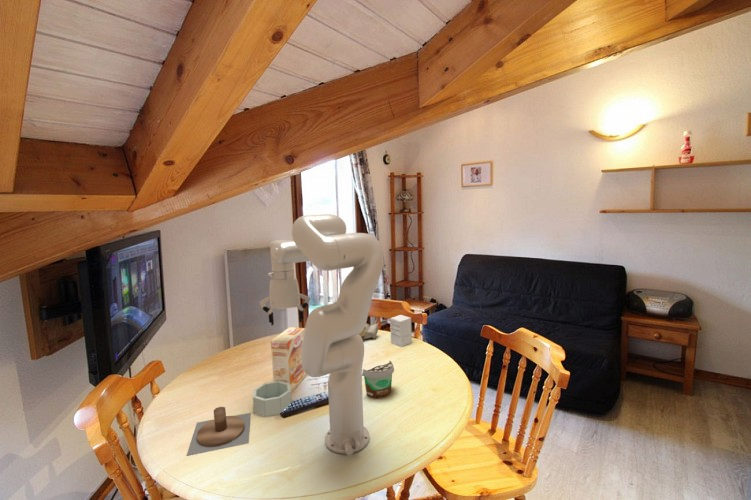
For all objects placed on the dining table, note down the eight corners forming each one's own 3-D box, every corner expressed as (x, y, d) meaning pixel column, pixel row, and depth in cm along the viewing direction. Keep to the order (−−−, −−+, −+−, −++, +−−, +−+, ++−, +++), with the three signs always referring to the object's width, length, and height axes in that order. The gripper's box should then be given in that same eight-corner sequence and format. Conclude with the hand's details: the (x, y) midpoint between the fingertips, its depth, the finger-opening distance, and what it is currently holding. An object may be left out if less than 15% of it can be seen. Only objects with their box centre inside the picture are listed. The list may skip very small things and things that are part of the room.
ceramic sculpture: (380, 323, 176) (349, 328, 173) (381, 340, 177) (351, 345, 174) (375, 317, 187) (346, 321, 184) (377, 333, 188) (348, 338, 185)
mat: (248, 445, 102) (248, 443, 102) (186, 457, 98) (186, 455, 98) (251, 414, 118) (250, 412, 118) (197, 424, 113) (196, 422, 113)
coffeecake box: (291, 394, 130) (287, 341, 127) (273, 392, 131) (269, 340, 129) (308, 374, 144) (305, 327, 142) (291, 373, 146) (288, 326, 143)
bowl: (292, 413, 118) (291, 395, 117) (253, 420, 114) (252, 402, 113) (290, 395, 129) (289, 379, 128) (255, 401, 126) (253, 384, 125)
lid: (243, 440, 103) (241, 417, 102) (193, 451, 100) (190, 426, 99) (245, 416, 116) (244, 394, 115) (201, 424, 112) (199, 402, 111)
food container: (372, 404, 121) (371, 376, 120) (363, 396, 126) (361, 369, 125) (401, 392, 128) (401, 365, 127) (391, 385, 133) (390, 360, 132)
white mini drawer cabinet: (401, 339, 179) (400, 314, 177) (412, 343, 173) (411, 317, 172) (390, 343, 174) (389, 317, 173) (401, 347, 169) (400, 321, 167)
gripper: (256, 279, 120) (260, 328, 123) (309, 275, 125) (312, 323, 127) (258, 275, 128) (261, 322, 130) (307, 271, 132) (310, 317, 134)
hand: (286, 322), depth 128 cm, fingers open, 9 cm apart
